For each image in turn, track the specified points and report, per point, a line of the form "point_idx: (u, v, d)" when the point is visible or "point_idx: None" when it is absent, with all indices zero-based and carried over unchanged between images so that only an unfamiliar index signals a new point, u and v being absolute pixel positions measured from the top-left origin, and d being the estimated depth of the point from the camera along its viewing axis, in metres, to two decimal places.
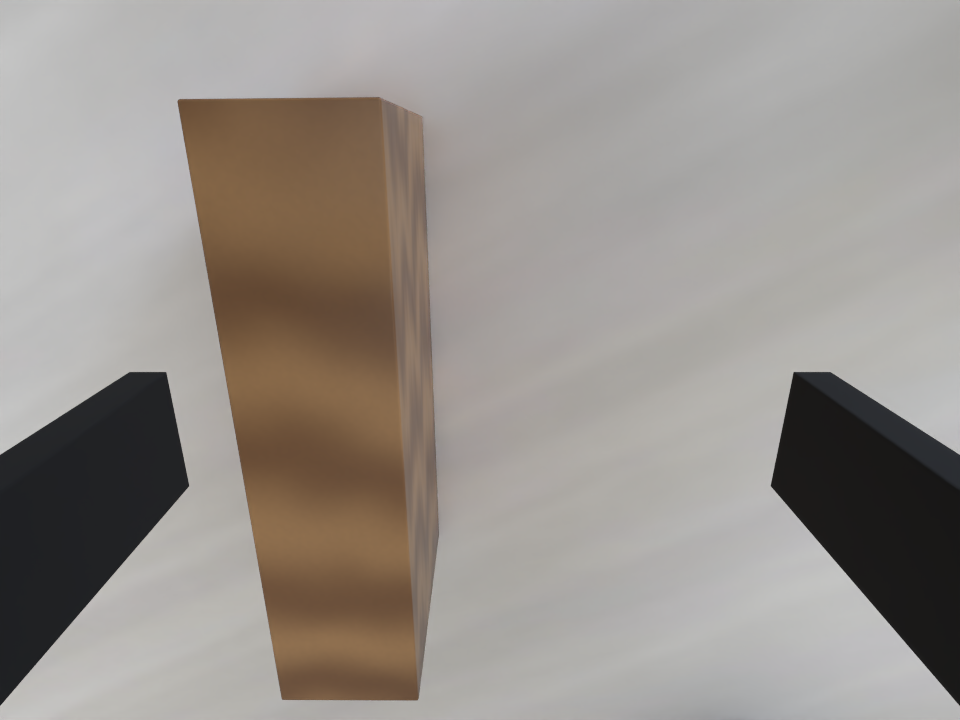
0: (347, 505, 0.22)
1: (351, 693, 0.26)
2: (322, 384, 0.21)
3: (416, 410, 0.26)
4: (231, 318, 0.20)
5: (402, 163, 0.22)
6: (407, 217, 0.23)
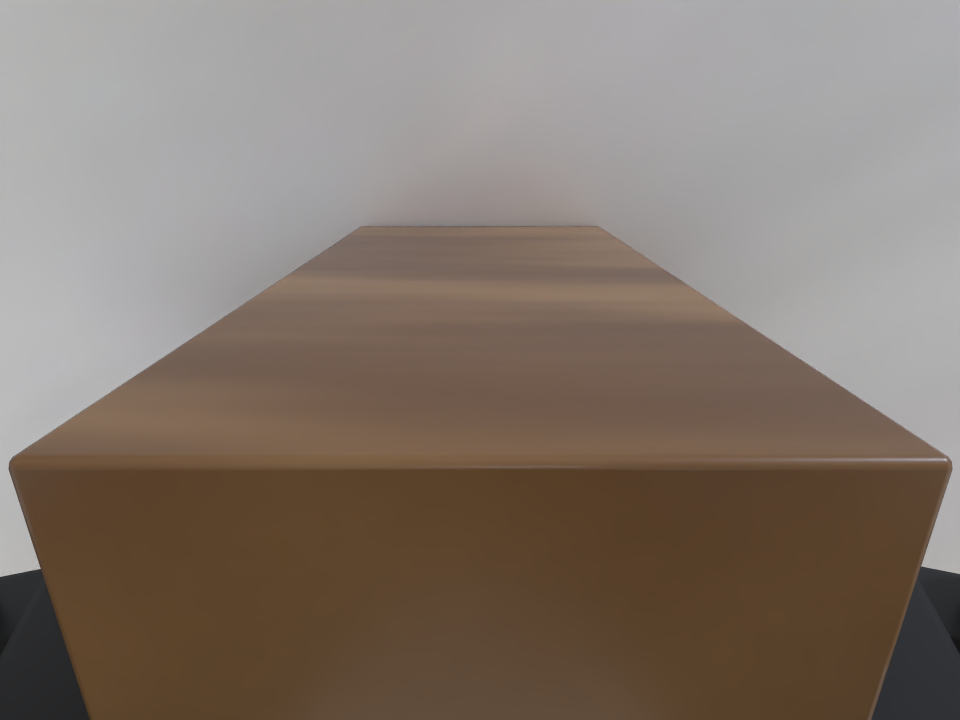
0: None
1: None
2: None
3: None
4: None
5: None
6: None
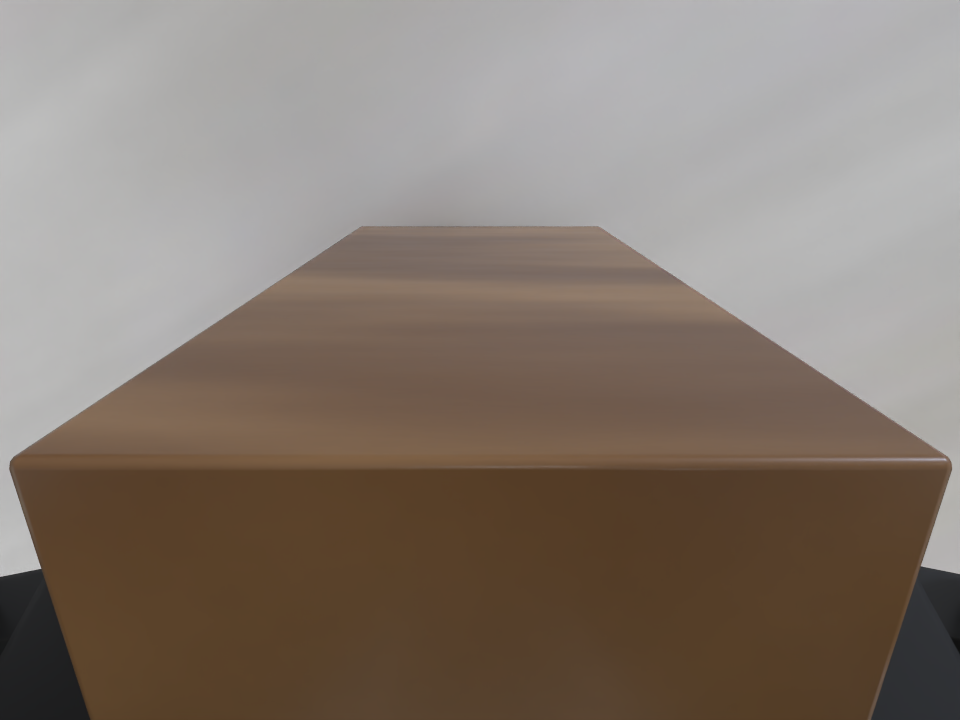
0: None
1: None
2: None
3: None
4: None
5: None
6: None
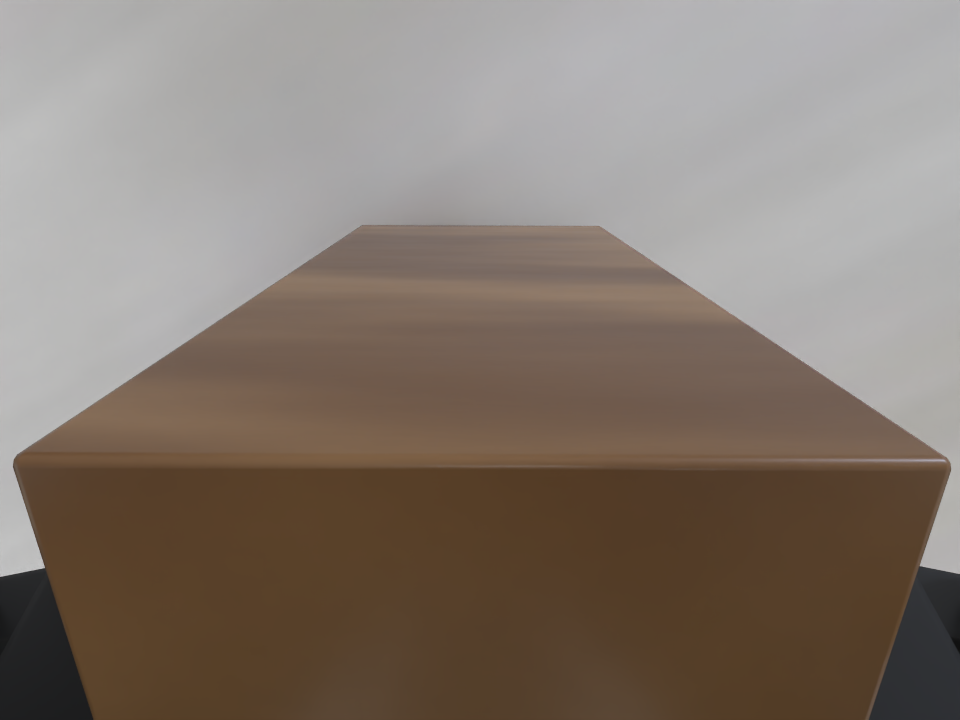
0: None
1: None
2: None
3: None
4: None
5: None
6: None
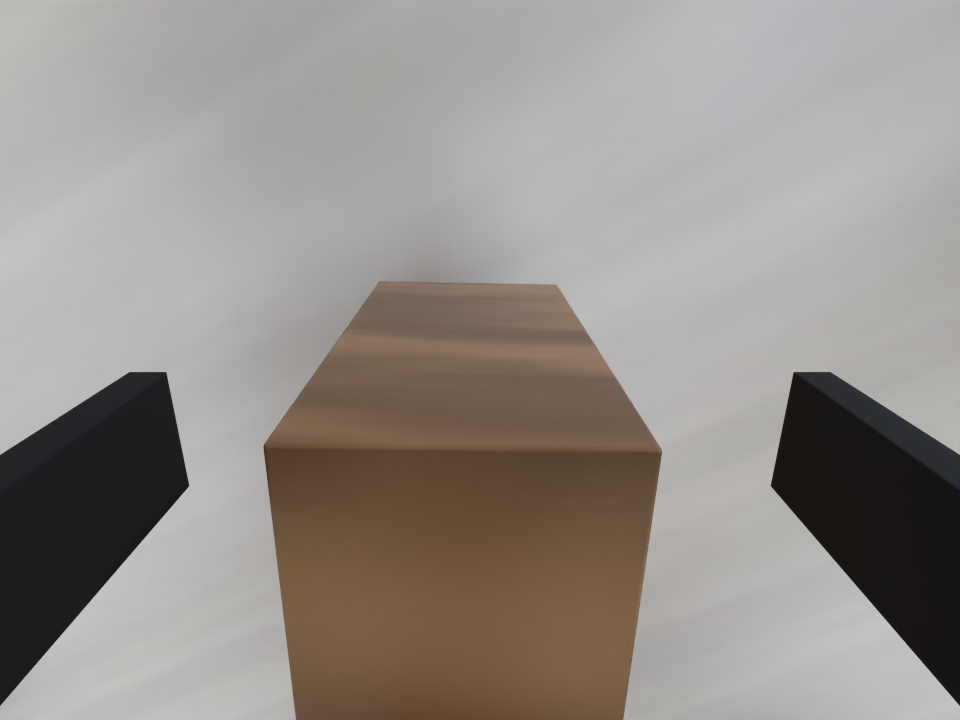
0: None
1: None
2: None
3: None
4: None
5: None
6: None
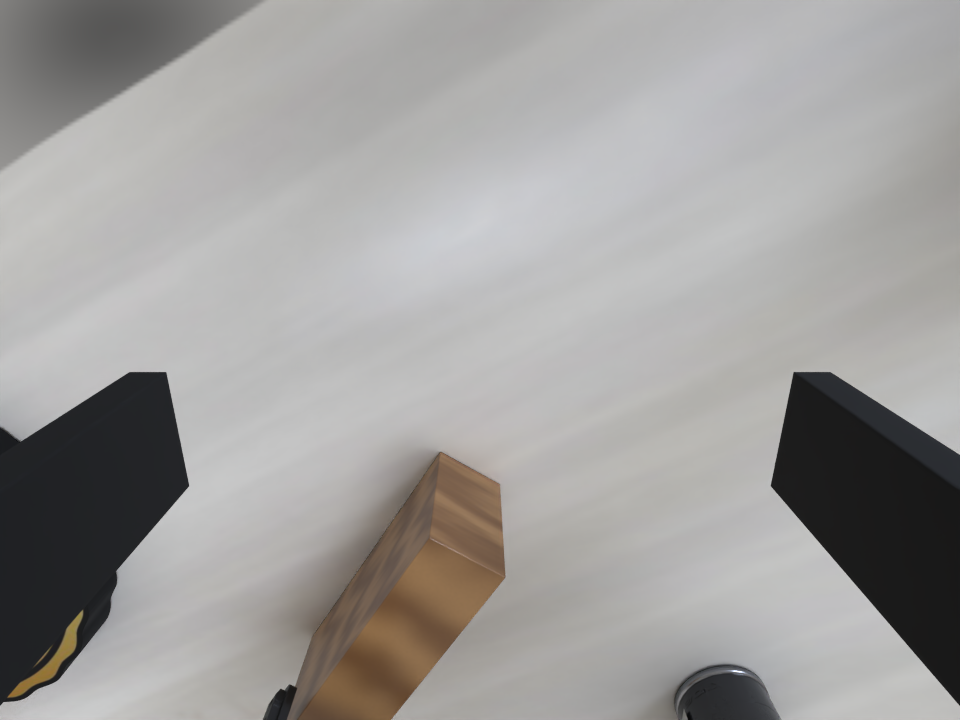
0: (376, 693, 0.44)
1: None
2: (404, 648, 0.42)
3: None
4: (387, 609, 0.41)
5: None
6: None
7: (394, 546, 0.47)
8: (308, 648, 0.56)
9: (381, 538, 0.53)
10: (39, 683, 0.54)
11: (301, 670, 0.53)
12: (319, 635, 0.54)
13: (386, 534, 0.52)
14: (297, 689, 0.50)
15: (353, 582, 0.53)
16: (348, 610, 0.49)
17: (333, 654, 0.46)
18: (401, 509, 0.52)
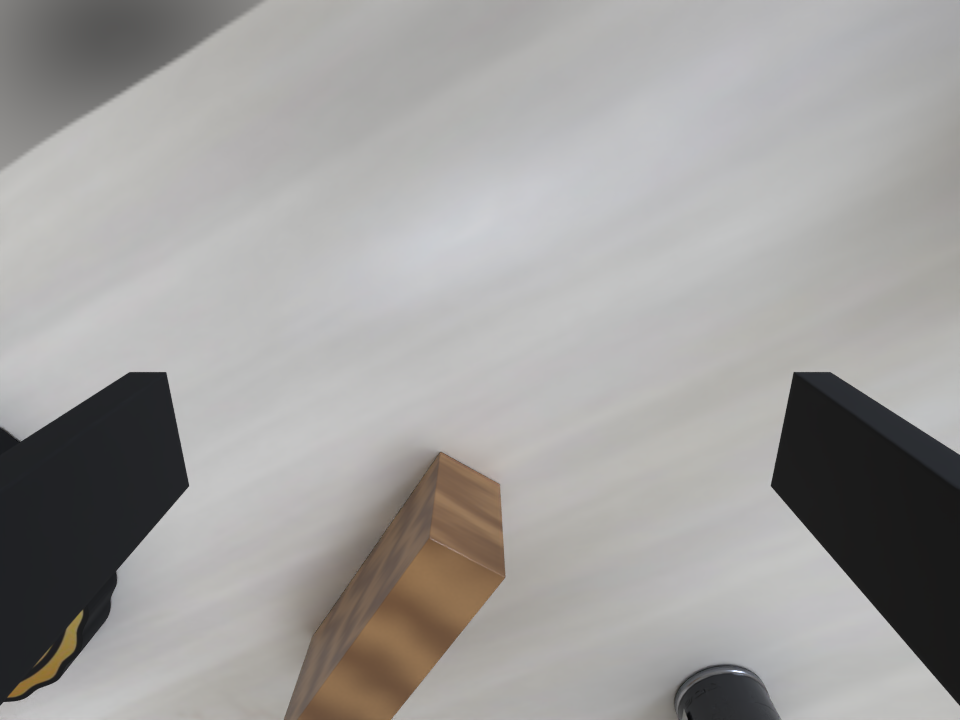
0: (376, 693, 0.44)
1: None
2: (404, 648, 0.42)
3: None
4: (387, 609, 0.41)
5: None
6: None
7: (394, 546, 0.47)
8: (308, 648, 0.56)
9: (381, 538, 0.53)
10: (39, 683, 0.54)
11: (301, 670, 0.53)
12: (319, 635, 0.54)
13: (386, 534, 0.52)
14: (297, 689, 0.50)
15: (353, 582, 0.53)
16: (348, 610, 0.49)
17: (333, 654, 0.46)
18: (401, 509, 0.52)
